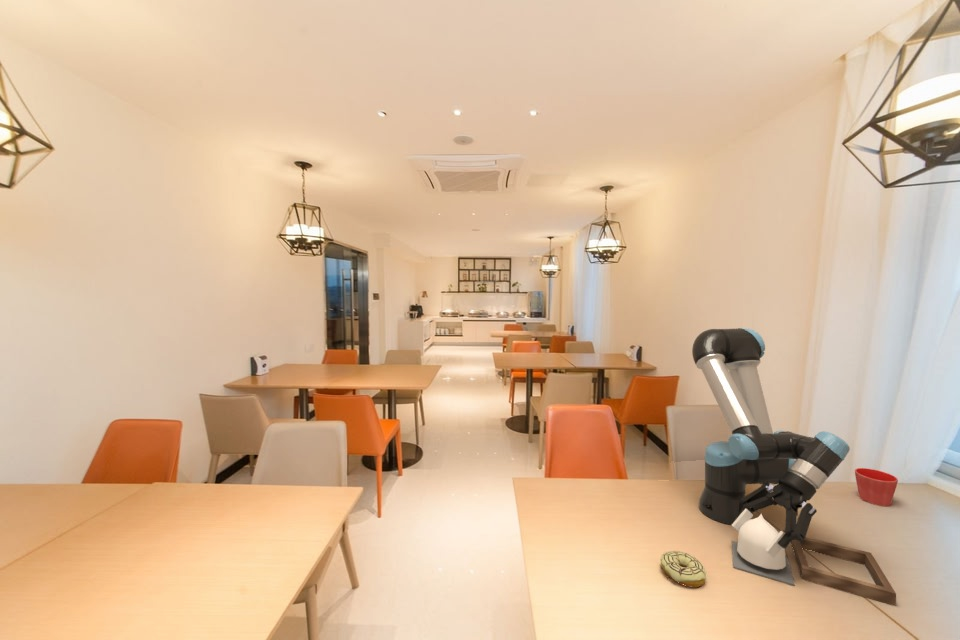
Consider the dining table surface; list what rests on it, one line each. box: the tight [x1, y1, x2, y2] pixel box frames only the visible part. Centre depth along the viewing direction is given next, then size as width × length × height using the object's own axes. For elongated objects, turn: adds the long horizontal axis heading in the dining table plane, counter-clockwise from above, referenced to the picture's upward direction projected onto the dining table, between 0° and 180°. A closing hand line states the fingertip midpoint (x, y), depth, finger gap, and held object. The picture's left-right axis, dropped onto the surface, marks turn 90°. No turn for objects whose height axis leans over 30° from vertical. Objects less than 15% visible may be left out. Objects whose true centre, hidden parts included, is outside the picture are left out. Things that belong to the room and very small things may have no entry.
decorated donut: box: [660, 550, 707, 588], centre depth 101 cm, size 10×11×4 cm
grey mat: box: [731, 540, 796, 587], centre depth 105 cm, size 13×13×1 cm
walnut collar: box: [790, 536, 897, 607], centre depth 101 cm, size 17×17×3 cm
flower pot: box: [854, 467, 899, 507], centre depth 135 cm, size 11×11×10 cm
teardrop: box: [737, 513, 786, 570], centre depth 104 cm, size 11×11×12 cm
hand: (751, 540), depth 104 cm, fingers closed on teardrop, 10 cm apart
